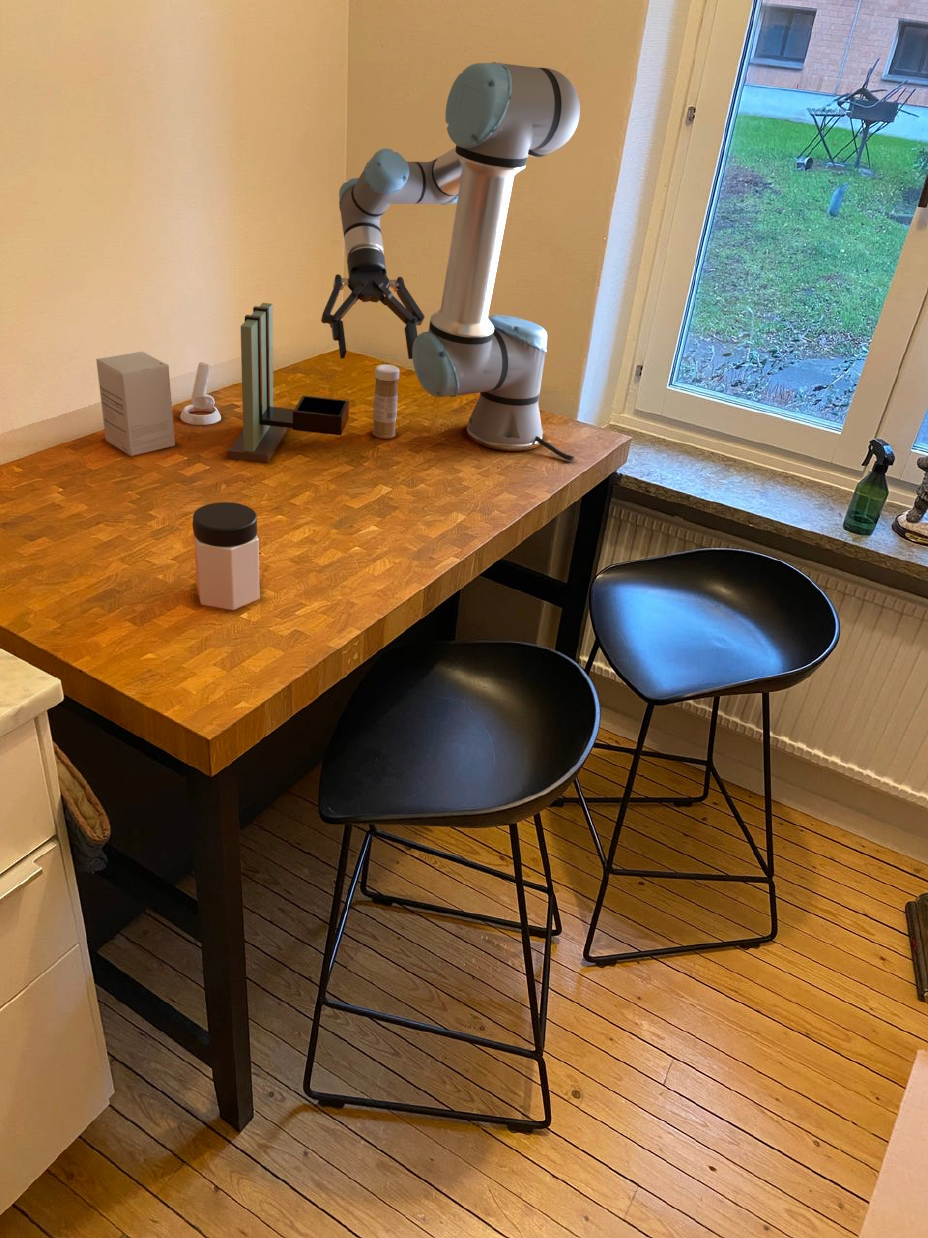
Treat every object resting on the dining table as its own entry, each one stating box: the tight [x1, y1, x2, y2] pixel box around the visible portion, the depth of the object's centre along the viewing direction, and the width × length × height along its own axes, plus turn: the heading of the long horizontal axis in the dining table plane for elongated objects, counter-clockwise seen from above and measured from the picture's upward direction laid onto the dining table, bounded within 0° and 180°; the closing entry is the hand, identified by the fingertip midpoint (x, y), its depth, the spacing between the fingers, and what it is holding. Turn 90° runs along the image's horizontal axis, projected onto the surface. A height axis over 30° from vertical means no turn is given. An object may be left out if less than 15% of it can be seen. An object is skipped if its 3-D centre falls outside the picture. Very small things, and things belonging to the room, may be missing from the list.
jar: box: [192, 501, 261, 611], centre depth 125 cm, size 9×8×12 cm
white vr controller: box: [179, 361, 222, 426], centre depth 181 cm, size 8×12×7 cm
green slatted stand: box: [227, 302, 289, 464], centre depth 167 cm, size 7×17×24 cm, turn 177°
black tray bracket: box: [244, 305, 350, 437], centre depth 166 cm, size 17×9×19 cm, turn 87°
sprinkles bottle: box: [372, 364, 401, 440], centre depth 179 cm, size 5×5×14 cm
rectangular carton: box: [95, 351, 176, 457], centre depth 164 cm, size 9×9×15 cm
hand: (378, 355), depth 182 cm, fingers open, 13 cm apart
